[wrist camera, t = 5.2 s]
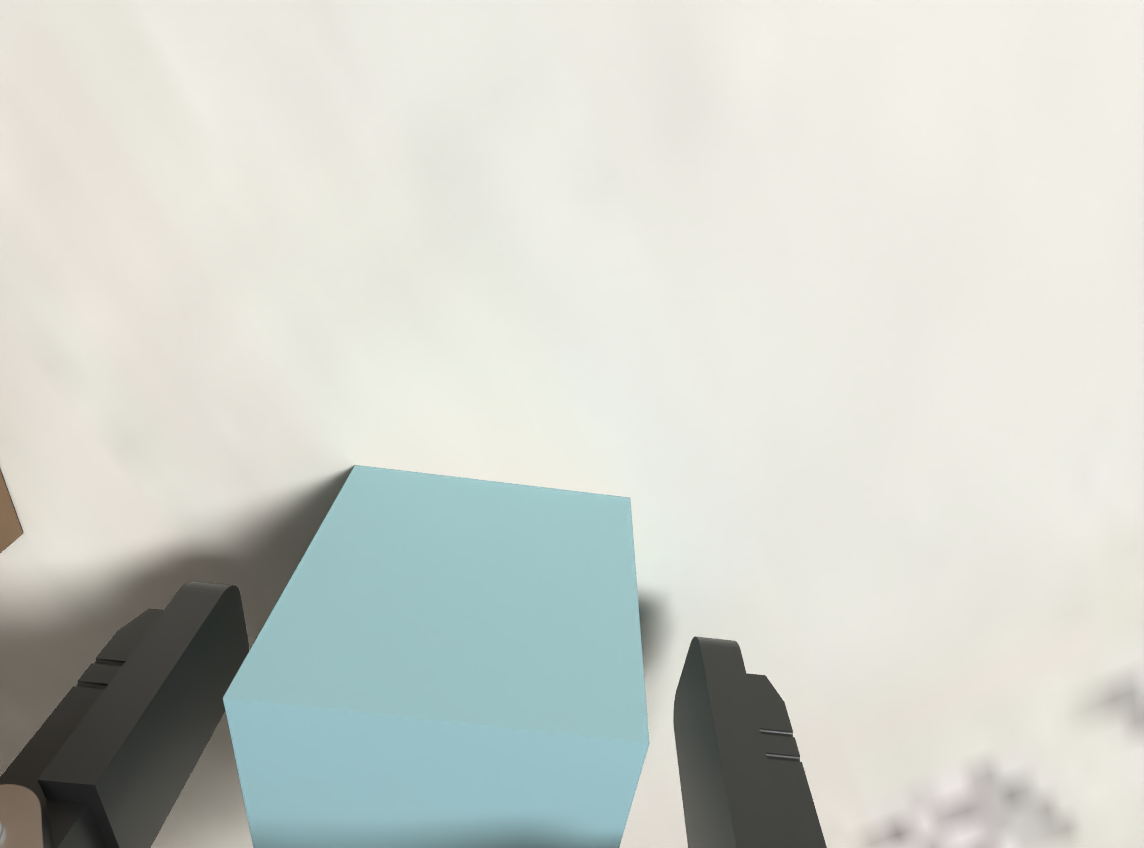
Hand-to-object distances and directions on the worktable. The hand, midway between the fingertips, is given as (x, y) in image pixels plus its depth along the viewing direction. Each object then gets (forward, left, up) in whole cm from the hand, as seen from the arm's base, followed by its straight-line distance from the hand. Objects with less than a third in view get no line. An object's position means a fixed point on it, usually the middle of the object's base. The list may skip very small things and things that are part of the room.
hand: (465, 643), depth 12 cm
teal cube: (0, 0, -2) cm, 2 cm away
